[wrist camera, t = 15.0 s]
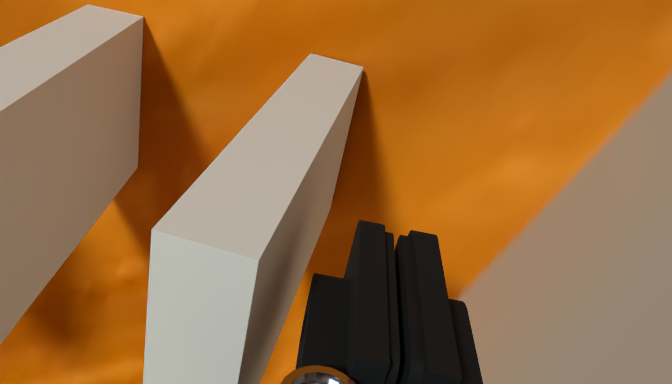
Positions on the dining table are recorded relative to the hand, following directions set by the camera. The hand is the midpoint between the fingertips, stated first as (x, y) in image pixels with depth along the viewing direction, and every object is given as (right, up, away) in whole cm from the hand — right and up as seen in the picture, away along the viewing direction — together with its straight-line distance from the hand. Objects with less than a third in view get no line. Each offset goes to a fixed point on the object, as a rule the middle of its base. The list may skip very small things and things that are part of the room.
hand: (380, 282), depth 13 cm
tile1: (-1, +4, +6) cm, 7 cm away
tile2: (-8, +5, +5) cm, 11 cm away
